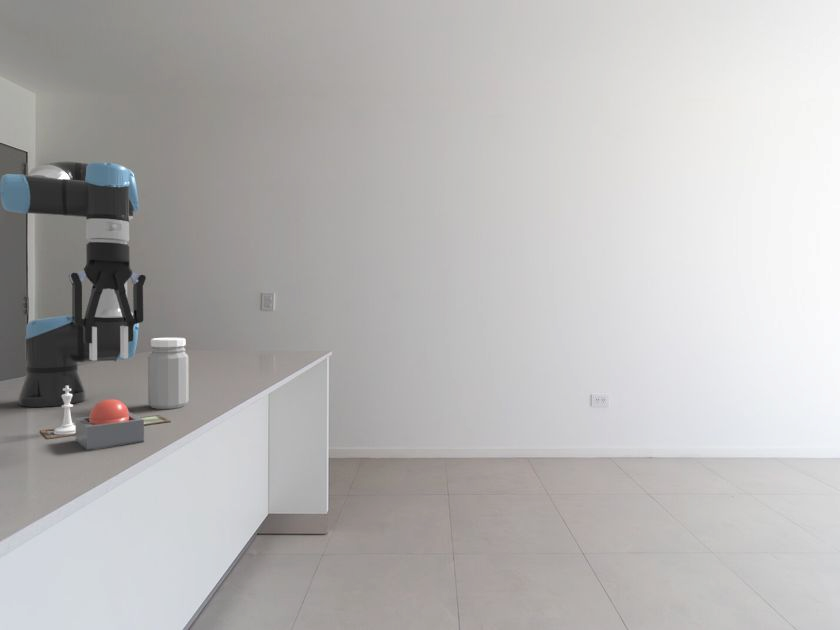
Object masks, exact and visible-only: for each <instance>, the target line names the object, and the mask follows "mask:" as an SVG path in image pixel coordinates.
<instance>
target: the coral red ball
mask: <svg viewBox="0 0 840 630" xmlns="http://www.w3.org/2000/svg"><path fill="white" fill-rule="evenodd" d="M129 412H130V411H129V409H128V407H127V406H126V405H125V403H124V402H123V401H121V400H118V399H114V398H108V399H107V398H106V399H104V400H101V401H99V402H97V403H96V404H95V405H94V406H93V407H92V408H91V410H90V413H89V416H88V417H89V423H90V424H92V425H98V424H106V423H114V422H121V421H129Z"/></svg>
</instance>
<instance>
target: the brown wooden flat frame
mask: <svg viewBox="0 0 840 630" xmlns="http://www.w3.org/2000/svg"><path fill="white" fill-rule="evenodd" d="M139 417H140V416H139ZM140 418H141V419H143V420H144V427H146V426H151V425H152V424H153V425H159V424H166V423H171V420H169V419H167V418H166V417H163V416H162V415H159V414H155V415H148V416H141V417H140ZM56 428H57V427H55V428H47V429H46V428H45V429H40V430H39V432H40V433H41V434H42V435H43V436H44V438H46V439H47V440H50V439H51V440H52V439H57V438H65V437H72V436H76V433H74V434H67V435H55V436H54V435H53V436H51V435H50V434H49V433H48V432H47V431H49V432H51V431H54V430H55V429H56Z"/></svg>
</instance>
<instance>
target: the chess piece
mask: <svg viewBox="0 0 840 630" xmlns="http://www.w3.org/2000/svg"><path fill="white" fill-rule="evenodd" d="M63 391H65V394H63V395H62V398H63V401H64V403H65V404H64V405H60V406H61V408H64V409H63V410H64V411H63V412H64V414H63V421H62V423H61V424H60V425H61V426H59V427H55V428H56V429H55V430H53V431H54V432H53V434H54V435H56V436H60V435H67V434H75V433H76V424H75V423H74V422H73V421H72V416H71V408H73V407H74V405H73V404H70V401H71V398H72V396H73V395H72V394H70V393H69V391H71V389H69V386H65V388H63Z"/></svg>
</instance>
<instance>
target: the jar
mask: <svg viewBox="0 0 840 630" xmlns="http://www.w3.org/2000/svg"><path fill="white" fill-rule="evenodd" d="M186 342H187V341H186V338H184V337H156V338H155V337H154V338H151V339H150V346H151V347H152V349H150V352H151V353H150V355H148V356H147V389H148V390H147V396H148V397H147V403H148V405H149V406H150V407H151V408H152V409H154V408H155V410H171V409H179V408H183V407H185V406H186V405H187V403H188V402H189V396H190V395H189V394H190V393H189V391H190V389H189V387H190V385H189V383H190V381H189V380H190V379H189V378H190V377H189V355H188V354H187V353H186V351H187V350H186V348H185V347H186V345H187V344H186Z"/></svg>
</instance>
